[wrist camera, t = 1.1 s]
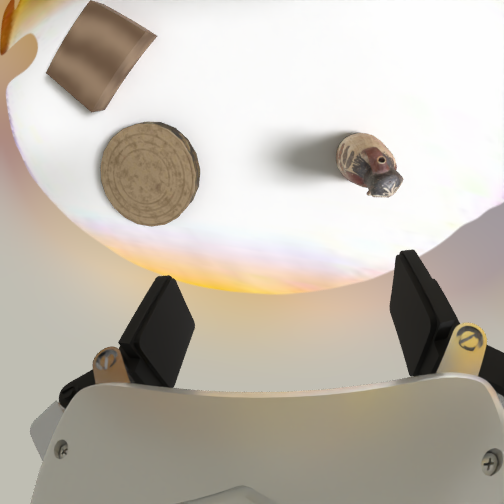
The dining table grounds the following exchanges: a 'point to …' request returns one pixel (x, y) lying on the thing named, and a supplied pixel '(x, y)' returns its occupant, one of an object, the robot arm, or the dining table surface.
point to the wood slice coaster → (150, 173)
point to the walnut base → (98, 55)
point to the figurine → (368, 164)
